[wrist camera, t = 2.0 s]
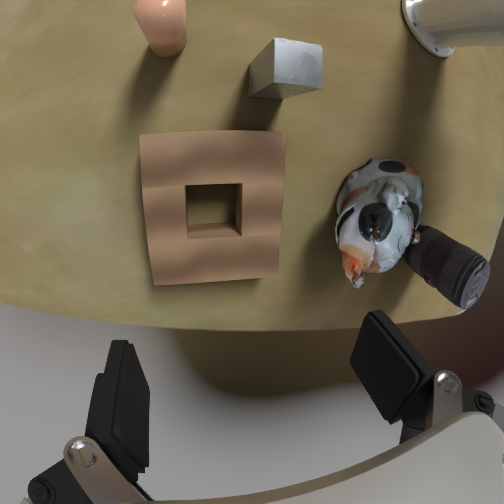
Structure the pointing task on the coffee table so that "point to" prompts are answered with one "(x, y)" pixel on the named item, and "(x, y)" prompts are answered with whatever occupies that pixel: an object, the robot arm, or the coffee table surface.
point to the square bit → (285, 69)
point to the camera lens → (448, 266)
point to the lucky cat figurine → (377, 216)
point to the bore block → (215, 234)
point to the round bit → (163, 25)
